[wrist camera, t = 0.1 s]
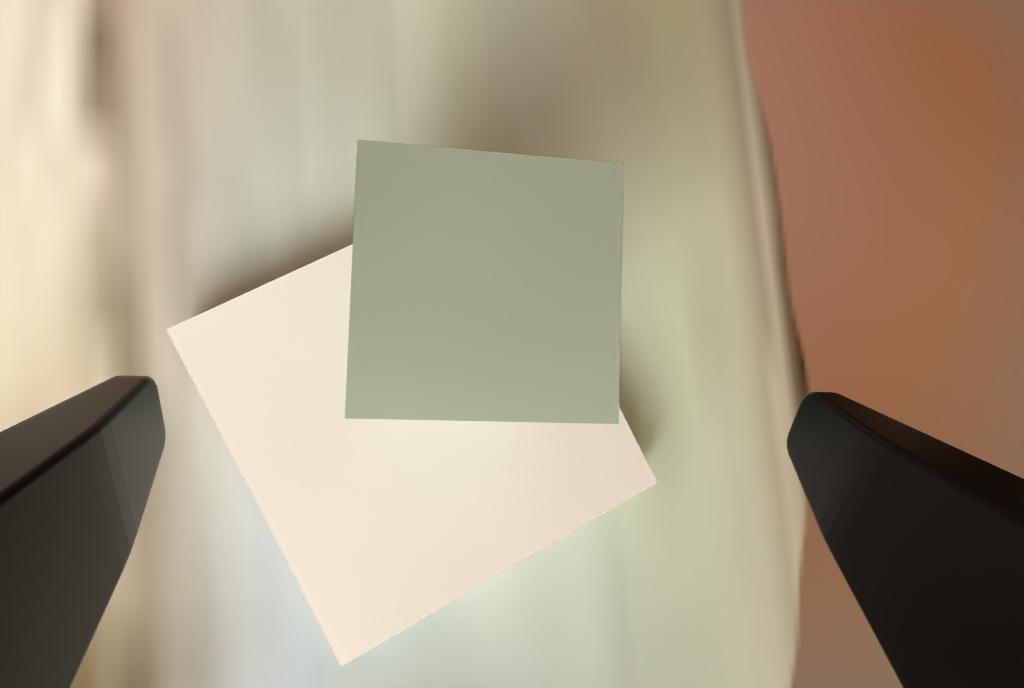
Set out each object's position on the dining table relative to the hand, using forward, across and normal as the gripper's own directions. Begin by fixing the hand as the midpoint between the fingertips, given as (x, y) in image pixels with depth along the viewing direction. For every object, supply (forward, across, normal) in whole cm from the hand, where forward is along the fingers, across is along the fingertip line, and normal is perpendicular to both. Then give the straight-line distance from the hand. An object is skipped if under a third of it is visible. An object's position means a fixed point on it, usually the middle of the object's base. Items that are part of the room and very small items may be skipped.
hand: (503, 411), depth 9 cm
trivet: (+12, +1, +8) cm, 15 cm away
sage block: (+12, 0, +5) cm, 13 cm away
